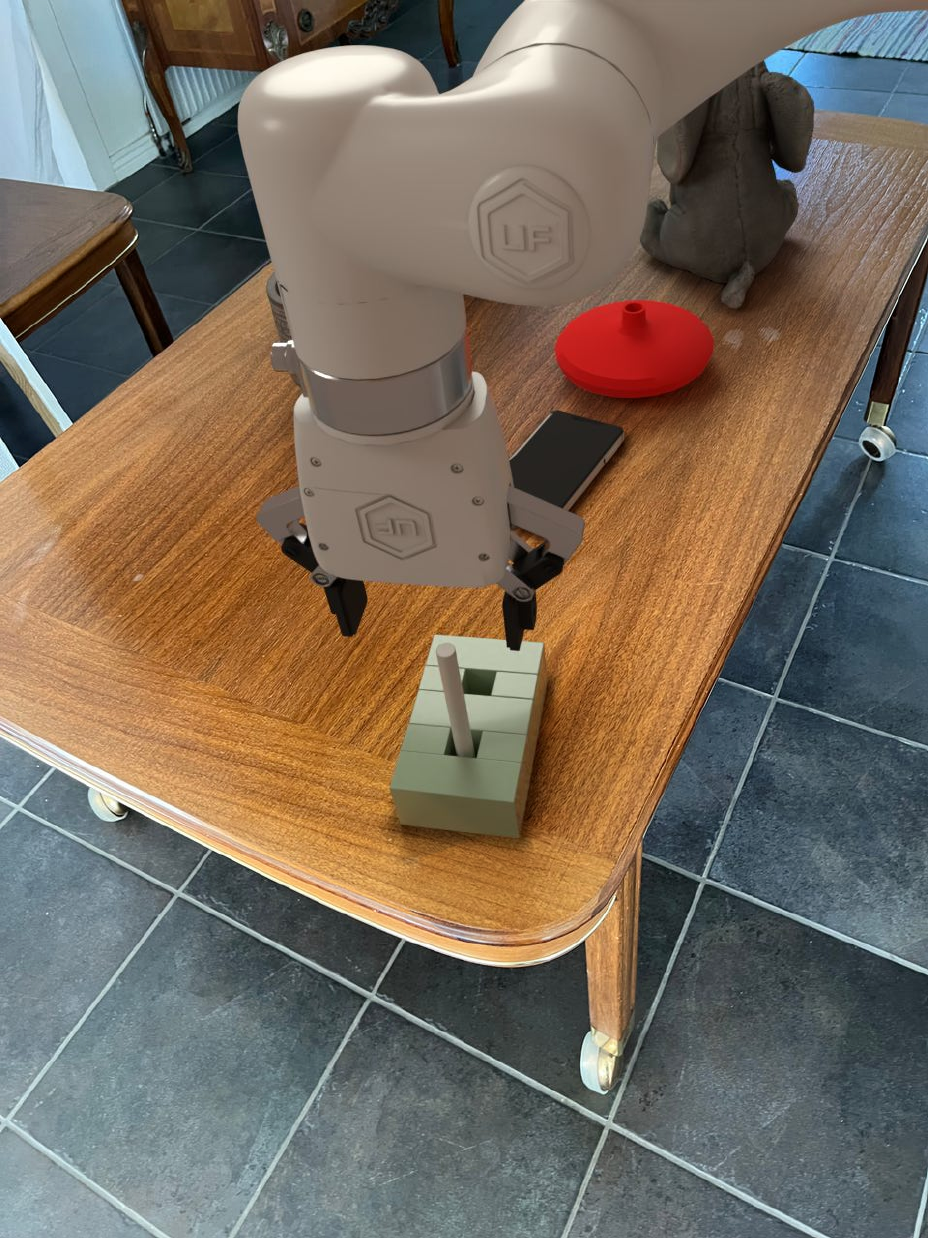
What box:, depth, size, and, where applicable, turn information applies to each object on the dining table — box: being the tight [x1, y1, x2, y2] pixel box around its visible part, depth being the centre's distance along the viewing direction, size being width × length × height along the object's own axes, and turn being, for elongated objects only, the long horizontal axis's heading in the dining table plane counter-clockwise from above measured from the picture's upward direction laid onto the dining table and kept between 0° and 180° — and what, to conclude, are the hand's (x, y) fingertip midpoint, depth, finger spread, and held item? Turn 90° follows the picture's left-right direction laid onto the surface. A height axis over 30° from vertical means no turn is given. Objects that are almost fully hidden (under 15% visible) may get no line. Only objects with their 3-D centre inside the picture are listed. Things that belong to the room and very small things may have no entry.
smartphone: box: [509, 409, 625, 511], centre depth 88 cm, size 8×1×15 cm
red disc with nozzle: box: [553, 299, 715, 399], centre depth 96 cm, size 16×16×7 cm
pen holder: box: [388, 633, 549, 839], centre depth 67 cm, size 13×8×4 cm, turn 169°
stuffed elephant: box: [639, 60, 815, 310], centre depth 103 cm, size 19×21×27 cm
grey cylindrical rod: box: [436, 643, 475, 758], centre depth 62 cm, size 1×1×14 cm
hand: (435, 625), depth 55 cm, fingers open, 9 cm apart
